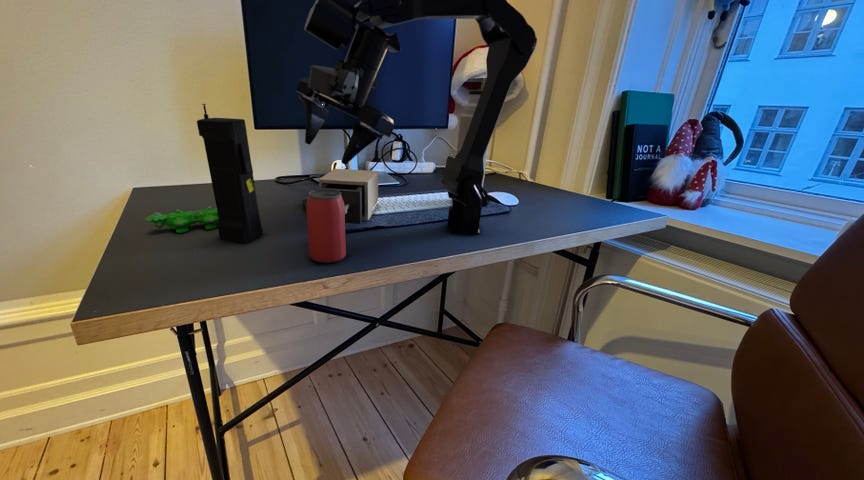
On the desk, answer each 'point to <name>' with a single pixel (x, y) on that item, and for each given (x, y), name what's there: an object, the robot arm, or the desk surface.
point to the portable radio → (231, 177)
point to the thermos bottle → (466, 120)
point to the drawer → (350, 200)
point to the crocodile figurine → (185, 219)
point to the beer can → (326, 225)
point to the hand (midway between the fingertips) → (324, 153)
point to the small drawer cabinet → (356, 179)
